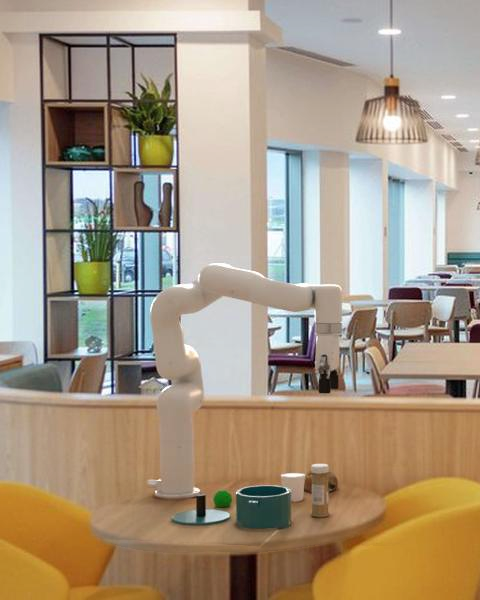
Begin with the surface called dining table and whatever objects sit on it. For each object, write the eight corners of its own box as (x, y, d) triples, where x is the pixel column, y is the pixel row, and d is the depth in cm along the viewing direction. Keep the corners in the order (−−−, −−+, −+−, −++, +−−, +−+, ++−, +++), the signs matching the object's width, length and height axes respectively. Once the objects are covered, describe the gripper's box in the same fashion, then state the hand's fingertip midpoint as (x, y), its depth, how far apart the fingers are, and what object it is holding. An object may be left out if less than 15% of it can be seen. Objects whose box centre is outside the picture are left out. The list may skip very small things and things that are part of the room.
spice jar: (332, 515, 280) (332, 464, 279) (321, 518, 276) (321, 467, 276) (319, 512, 283) (318, 462, 282) (307, 516, 279) (307, 465, 278)
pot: (225, 532, 262) (225, 498, 262) (249, 514, 281) (249, 482, 281) (279, 534, 260) (278, 500, 260) (299, 516, 279) (299, 484, 278)
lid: (163, 526, 268) (163, 500, 268) (184, 512, 283) (184, 487, 283) (218, 528, 266) (218, 502, 266) (237, 514, 280) (237, 489, 280)
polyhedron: (212, 506, 290) (212, 489, 289) (230, 505, 291) (230, 488, 291) (215, 510, 285) (214, 493, 285) (233, 509, 286) (233, 491, 286)
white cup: (307, 497, 301) (307, 472, 301) (302, 502, 294) (302, 477, 294) (283, 496, 302) (283, 471, 302) (278, 502, 295) (278, 476, 295)
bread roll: (318, 506, 306) (327, 482, 303) (292, 487, 310) (301, 463, 308) (338, 499, 314) (347, 476, 312) (312, 481, 319) (321, 458, 317)
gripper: (322, 327, 303) (322, 387, 304) (307, 331, 286) (307, 394, 287) (348, 327, 302) (348, 387, 303) (334, 331, 285) (335, 395, 286)
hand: (328, 391), depth 295 cm, fingers open, 9 cm apart
